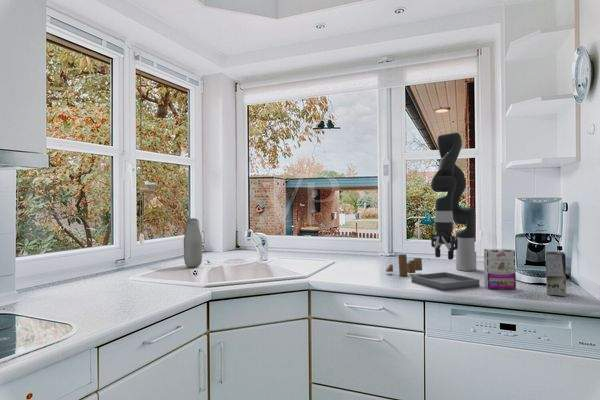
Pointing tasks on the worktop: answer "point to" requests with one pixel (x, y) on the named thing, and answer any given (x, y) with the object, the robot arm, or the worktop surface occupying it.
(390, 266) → the wooden block set
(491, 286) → the candy bar box
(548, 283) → the coffee box
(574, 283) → the worktop surface
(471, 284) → the tray
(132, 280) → the worktop surface
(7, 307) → the worktop surface
